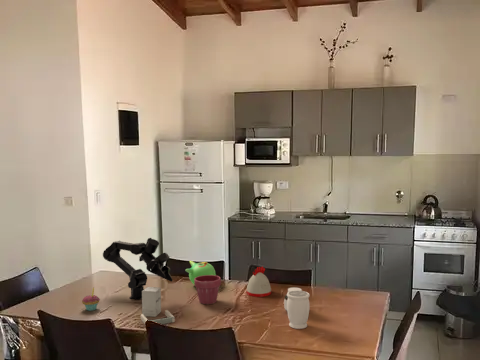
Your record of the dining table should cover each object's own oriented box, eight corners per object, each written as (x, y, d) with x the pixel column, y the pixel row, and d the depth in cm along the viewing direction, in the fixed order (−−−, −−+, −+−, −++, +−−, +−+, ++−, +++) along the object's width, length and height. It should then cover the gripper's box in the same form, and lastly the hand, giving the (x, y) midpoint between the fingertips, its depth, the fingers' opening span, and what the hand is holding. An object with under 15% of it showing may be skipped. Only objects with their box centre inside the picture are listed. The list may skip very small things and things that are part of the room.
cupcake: (103, 307, 241) (102, 284, 240) (92, 312, 233) (92, 289, 232) (89, 305, 244) (88, 283, 243) (78, 311, 236) (78, 287, 235)
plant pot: (199, 296, 257) (198, 273, 257) (223, 298, 254) (223, 275, 254) (191, 305, 243) (190, 281, 243) (217, 306, 241) (216, 282, 240)
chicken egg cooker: (276, 293, 261) (275, 267, 260) (256, 298, 254) (256, 271, 253) (261, 288, 273) (261, 262, 272) (241, 292, 265) (241, 266, 264)
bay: (140, 319, 224) (140, 314, 224) (167, 314, 230) (167, 310, 230) (146, 326, 214) (146, 322, 214) (174, 321, 220) (174, 317, 220)
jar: (284, 321, 218) (284, 290, 217) (306, 321, 219) (306, 289, 218) (289, 330, 208) (289, 297, 207) (311, 329, 209) (311, 296, 208)
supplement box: (156, 317, 226) (155, 291, 226) (141, 316, 228) (141, 290, 227) (161, 311, 234) (161, 287, 233) (147, 311, 235) (147, 286, 234)
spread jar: (290, 316, 225) (290, 293, 225) (278, 309, 235) (278, 287, 235) (310, 312, 231) (310, 289, 230) (297, 305, 241) (297, 283, 240)
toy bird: (214, 290, 269) (214, 265, 268) (185, 290, 269) (185, 265, 269) (216, 281, 287) (216, 257, 286) (189, 281, 287) (188, 258, 286)
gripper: (153, 244, 242) (171, 263, 235) (167, 252, 258) (185, 271, 251) (138, 260, 241) (156, 280, 233) (154, 268, 257) (171, 286, 250)
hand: (168, 279), depth 242 cm, fingers open, 9 cm apart
